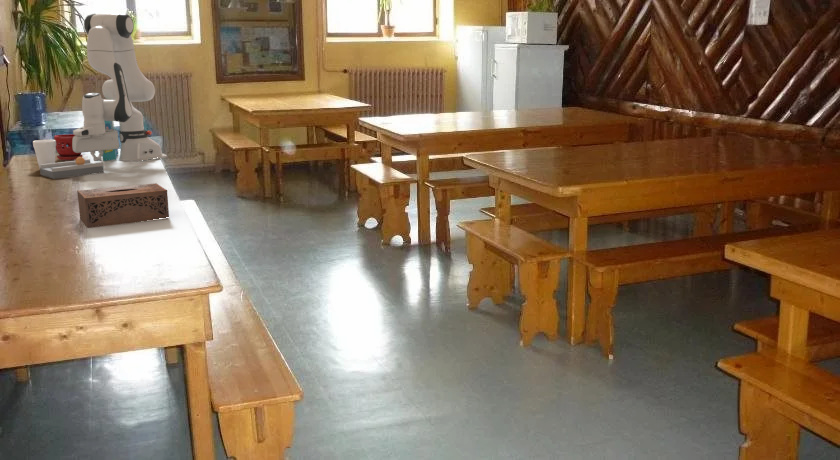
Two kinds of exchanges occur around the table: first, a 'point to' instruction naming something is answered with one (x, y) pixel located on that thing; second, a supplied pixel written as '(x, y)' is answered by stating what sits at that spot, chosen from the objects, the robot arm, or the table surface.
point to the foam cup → (45, 151)
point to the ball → (80, 161)
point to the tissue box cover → (122, 205)
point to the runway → (70, 169)
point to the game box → (114, 152)
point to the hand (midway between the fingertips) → (97, 160)
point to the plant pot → (65, 147)
